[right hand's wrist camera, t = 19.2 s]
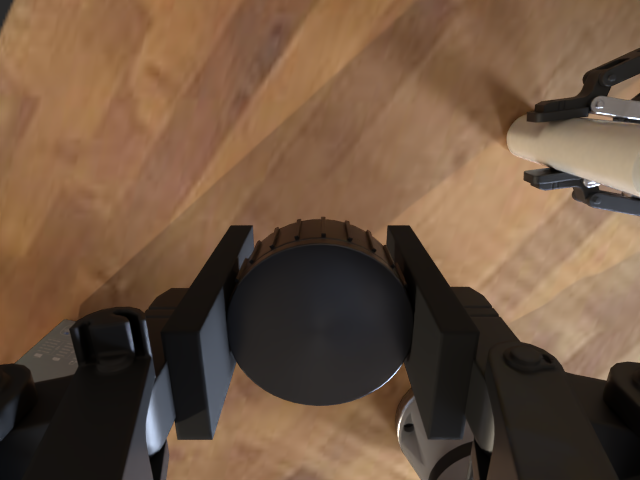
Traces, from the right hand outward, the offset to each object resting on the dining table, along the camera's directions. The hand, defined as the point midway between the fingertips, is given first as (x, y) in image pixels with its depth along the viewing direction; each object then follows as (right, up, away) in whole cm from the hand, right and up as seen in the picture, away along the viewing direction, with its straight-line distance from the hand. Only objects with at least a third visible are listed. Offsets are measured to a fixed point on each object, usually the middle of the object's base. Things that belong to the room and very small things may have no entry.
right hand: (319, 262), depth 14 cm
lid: (0, -1, -4) cm, 4 cm away
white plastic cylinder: (+20, +11, +23) cm, 32 cm away
